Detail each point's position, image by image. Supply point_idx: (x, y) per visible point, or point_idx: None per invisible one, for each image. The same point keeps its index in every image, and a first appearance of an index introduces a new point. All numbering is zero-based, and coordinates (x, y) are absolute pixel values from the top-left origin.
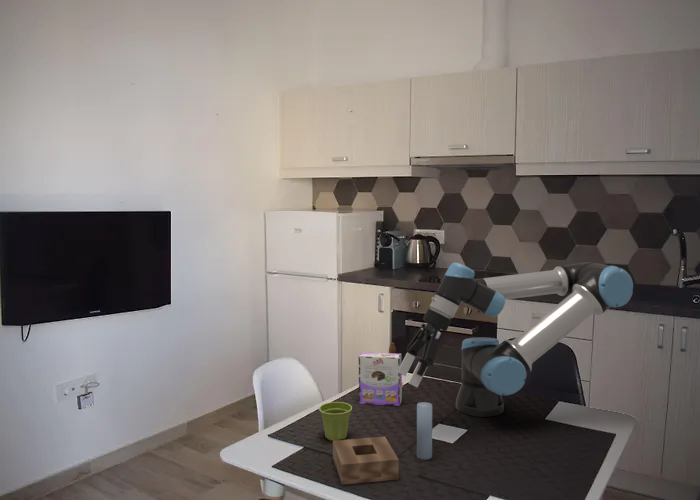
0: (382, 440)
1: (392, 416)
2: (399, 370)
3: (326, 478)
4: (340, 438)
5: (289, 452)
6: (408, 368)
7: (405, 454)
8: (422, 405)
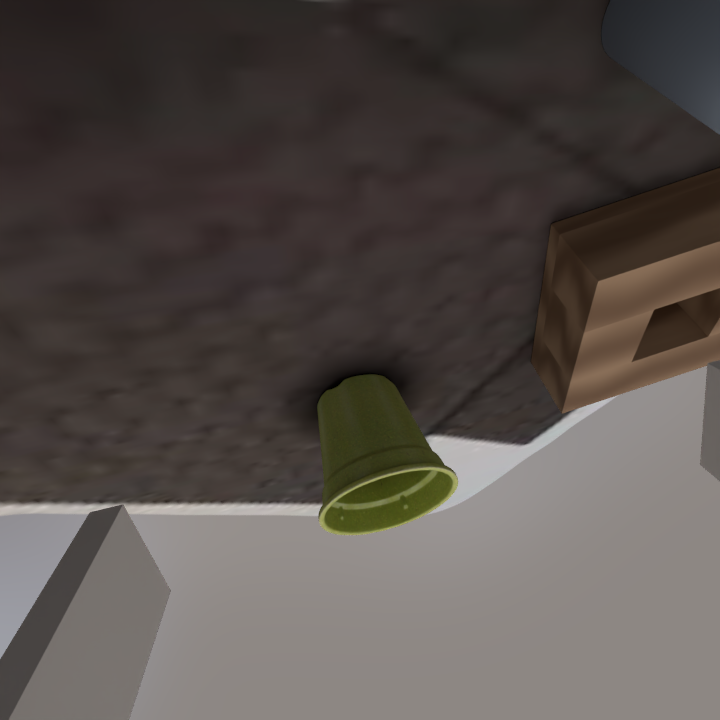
0: (635, 283)
1: (4, 252)
2: (156, 611)
3: None
4: (394, 386)
5: (459, 445)
6: (83, 613)
7: (581, 129)
8: None
